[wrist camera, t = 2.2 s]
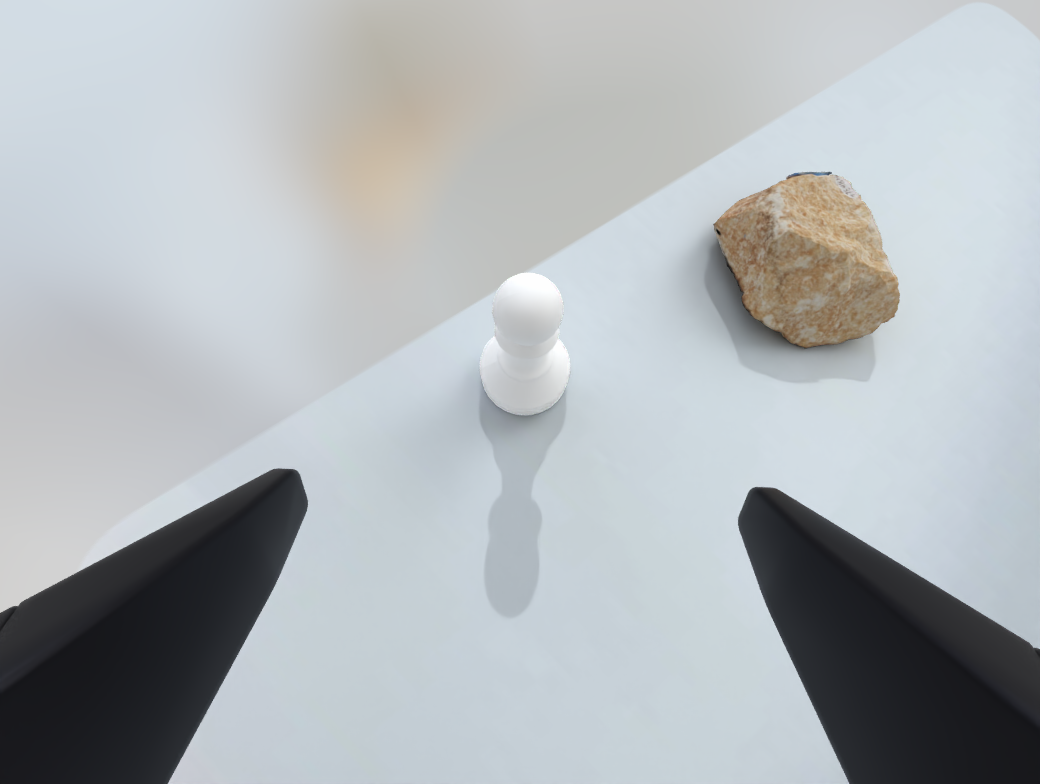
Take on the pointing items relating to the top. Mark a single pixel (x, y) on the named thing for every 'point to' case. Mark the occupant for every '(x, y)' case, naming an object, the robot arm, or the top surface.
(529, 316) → the chess pawn
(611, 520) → the top surface
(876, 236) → the stone
